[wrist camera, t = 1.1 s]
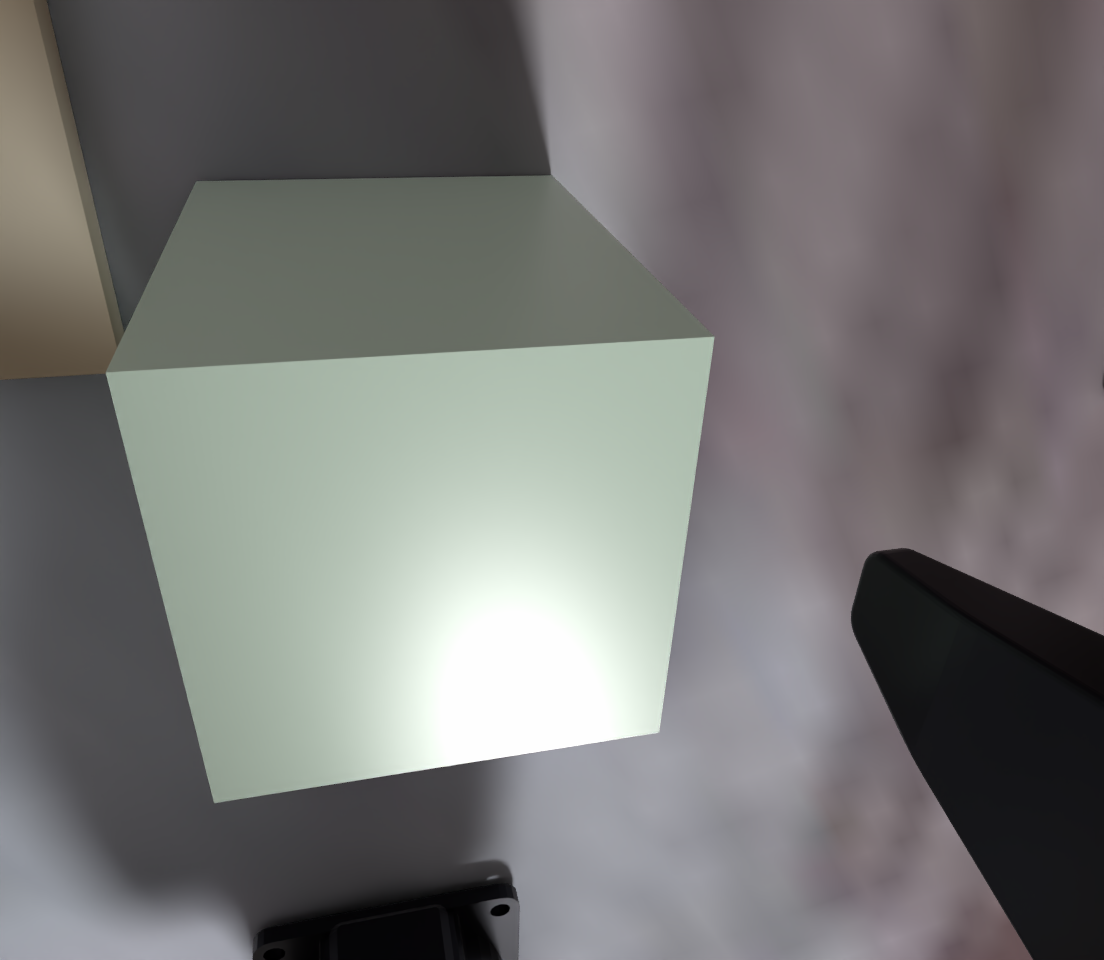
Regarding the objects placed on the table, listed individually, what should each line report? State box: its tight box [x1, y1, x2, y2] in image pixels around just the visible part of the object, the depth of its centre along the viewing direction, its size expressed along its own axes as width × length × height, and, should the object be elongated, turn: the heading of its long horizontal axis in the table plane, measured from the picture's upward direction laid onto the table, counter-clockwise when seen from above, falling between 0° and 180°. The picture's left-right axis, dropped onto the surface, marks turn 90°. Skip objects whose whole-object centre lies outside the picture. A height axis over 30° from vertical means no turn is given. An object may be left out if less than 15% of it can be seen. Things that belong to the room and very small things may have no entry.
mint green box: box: [106, 175, 714, 803], centre depth 12 cm, size 5×5×7 cm
